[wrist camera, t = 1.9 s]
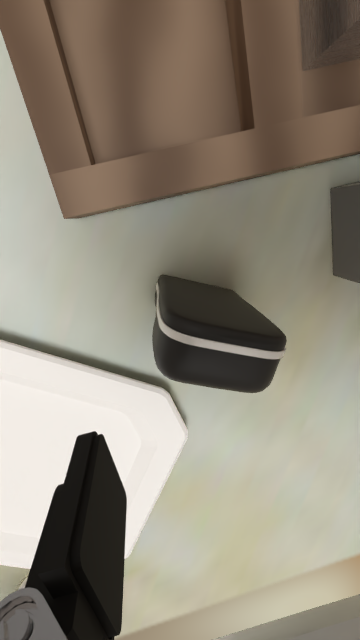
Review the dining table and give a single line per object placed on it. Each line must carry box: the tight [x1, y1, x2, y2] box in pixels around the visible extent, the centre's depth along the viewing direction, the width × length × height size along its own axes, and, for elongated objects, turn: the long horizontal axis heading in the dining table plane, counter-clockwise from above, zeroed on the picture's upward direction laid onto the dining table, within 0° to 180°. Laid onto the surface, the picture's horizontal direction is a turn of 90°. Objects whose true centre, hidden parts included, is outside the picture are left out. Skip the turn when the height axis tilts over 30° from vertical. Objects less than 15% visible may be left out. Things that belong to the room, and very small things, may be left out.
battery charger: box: [152, 275, 286, 393], centre depth 20 cm, size 7×4×11 cm, turn 76°
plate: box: [0, 339, 188, 569], centre depth 28 cm, size 25×25×2 cm
